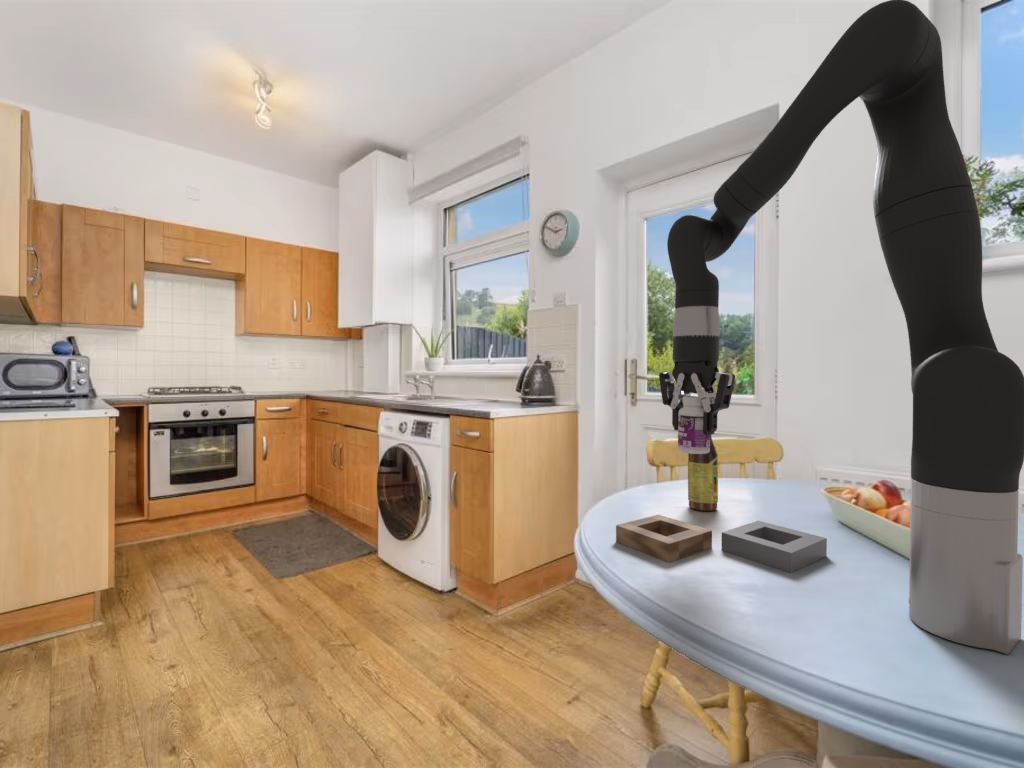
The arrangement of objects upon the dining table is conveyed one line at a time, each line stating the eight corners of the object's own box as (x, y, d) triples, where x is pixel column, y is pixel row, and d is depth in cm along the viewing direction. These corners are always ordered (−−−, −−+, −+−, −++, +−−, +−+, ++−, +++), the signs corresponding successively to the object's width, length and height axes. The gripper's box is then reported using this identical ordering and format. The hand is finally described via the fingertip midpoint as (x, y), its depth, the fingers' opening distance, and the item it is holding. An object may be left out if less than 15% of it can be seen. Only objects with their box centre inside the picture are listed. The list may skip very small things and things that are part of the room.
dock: (711, 547, 83) (712, 530, 83) (668, 562, 77) (669, 543, 77) (658, 529, 93) (658, 514, 93) (616, 541, 87) (616, 525, 86)
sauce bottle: (720, 513, 104) (721, 421, 103) (690, 511, 105) (690, 421, 105) (714, 505, 110) (714, 418, 110) (685, 503, 112) (686, 418, 111)
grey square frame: (826, 556, 79) (826, 538, 79) (791, 572, 73) (791, 552, 73) (758, 536, 89) (758, 520, 89) (721, 549, 82) (721, 532, 82)
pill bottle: (671, 449, 86) (672, 395, 85) (696, 448, 87) (697, 395, 87) (690, 455, 81) (691, 397, 80) (717, 453, 82) (718, 397, 82)
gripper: (747, 333, 79) (745, 435, 80) (675, 337, 91) (673, 426, 92) (720, 331, 75) (717, 439, 76) (648, 335, 87) (646, 428, 88)
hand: (693, 431), depth 84 cm, fingers closed on pill bottle, 5 cm apart
